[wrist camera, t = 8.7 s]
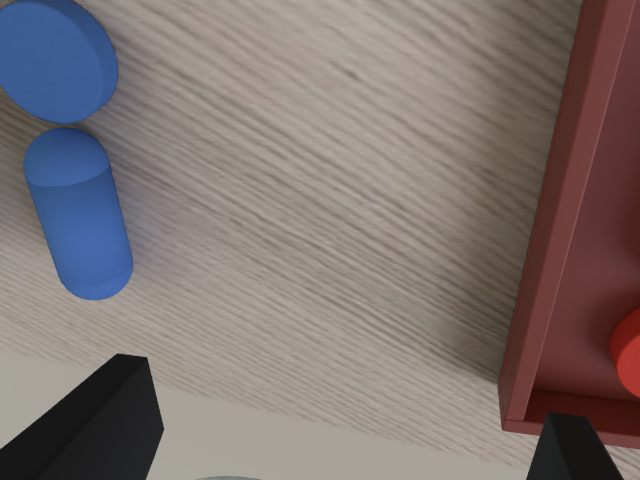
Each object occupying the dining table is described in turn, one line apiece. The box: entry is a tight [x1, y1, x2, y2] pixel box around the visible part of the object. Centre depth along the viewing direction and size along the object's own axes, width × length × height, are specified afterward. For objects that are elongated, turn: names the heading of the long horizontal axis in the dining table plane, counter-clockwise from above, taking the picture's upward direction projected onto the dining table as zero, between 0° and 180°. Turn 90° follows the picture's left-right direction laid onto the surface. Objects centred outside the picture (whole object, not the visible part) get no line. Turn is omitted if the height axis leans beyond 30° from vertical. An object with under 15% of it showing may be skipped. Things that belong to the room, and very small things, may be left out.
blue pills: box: [0, 0, 133, 300], centre depth 17 cm, size 10×3×2 cm, turn 1°
